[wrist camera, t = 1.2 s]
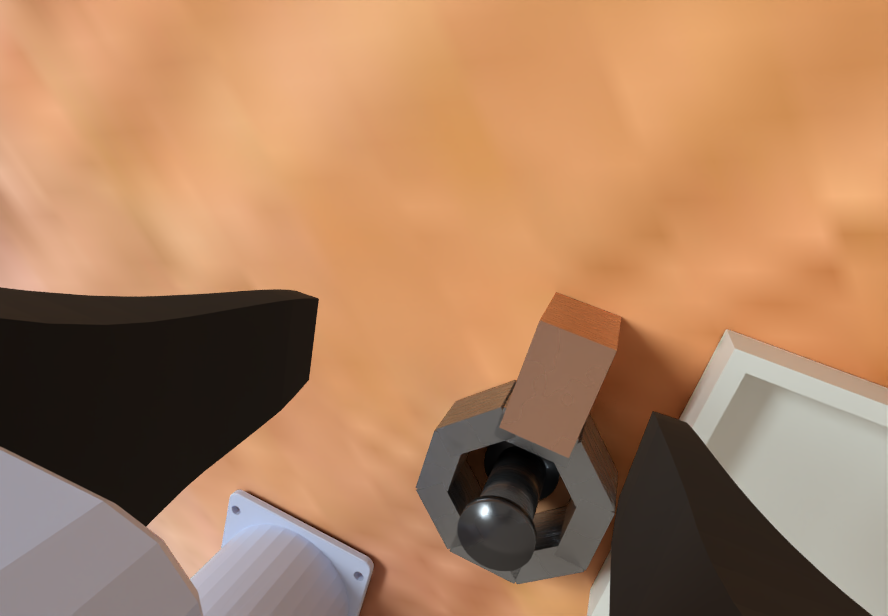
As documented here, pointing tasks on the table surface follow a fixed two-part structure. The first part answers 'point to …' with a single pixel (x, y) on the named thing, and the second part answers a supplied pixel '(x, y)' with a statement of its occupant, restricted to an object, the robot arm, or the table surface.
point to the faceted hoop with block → (537, 440)
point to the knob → (506, 507)
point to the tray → (798, 459)
